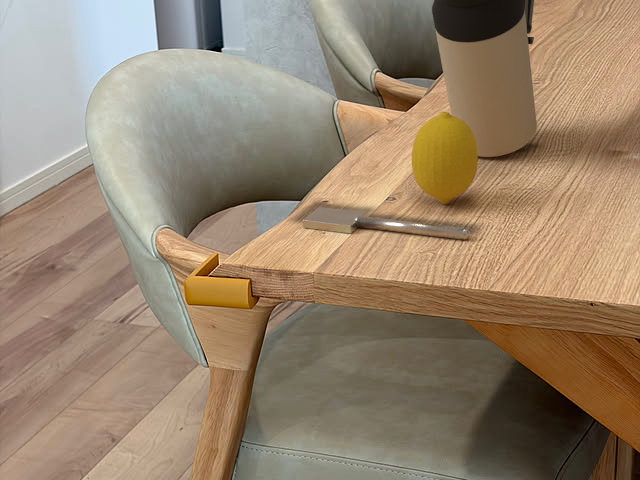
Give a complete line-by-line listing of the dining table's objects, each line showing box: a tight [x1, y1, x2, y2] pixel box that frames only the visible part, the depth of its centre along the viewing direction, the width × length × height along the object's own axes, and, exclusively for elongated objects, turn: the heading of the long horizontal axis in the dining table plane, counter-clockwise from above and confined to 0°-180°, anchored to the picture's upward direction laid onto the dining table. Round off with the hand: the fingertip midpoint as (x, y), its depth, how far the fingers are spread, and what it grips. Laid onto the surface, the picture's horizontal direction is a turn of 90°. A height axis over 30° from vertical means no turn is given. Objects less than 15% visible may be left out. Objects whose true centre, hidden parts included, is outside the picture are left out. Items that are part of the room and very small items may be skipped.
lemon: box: [411, 111, 479, 205], centre depth 76 cm, size 6×6×8 cm
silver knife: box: [302, 206, 471, 241], centre depth 74 cm, size 14×3×1 cm, turn 64°
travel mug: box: [431, 0, 538, 158], centre depth 84 cm, size 8×8×18 cm
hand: (507, 111), depth 93 cm, fingers closed
